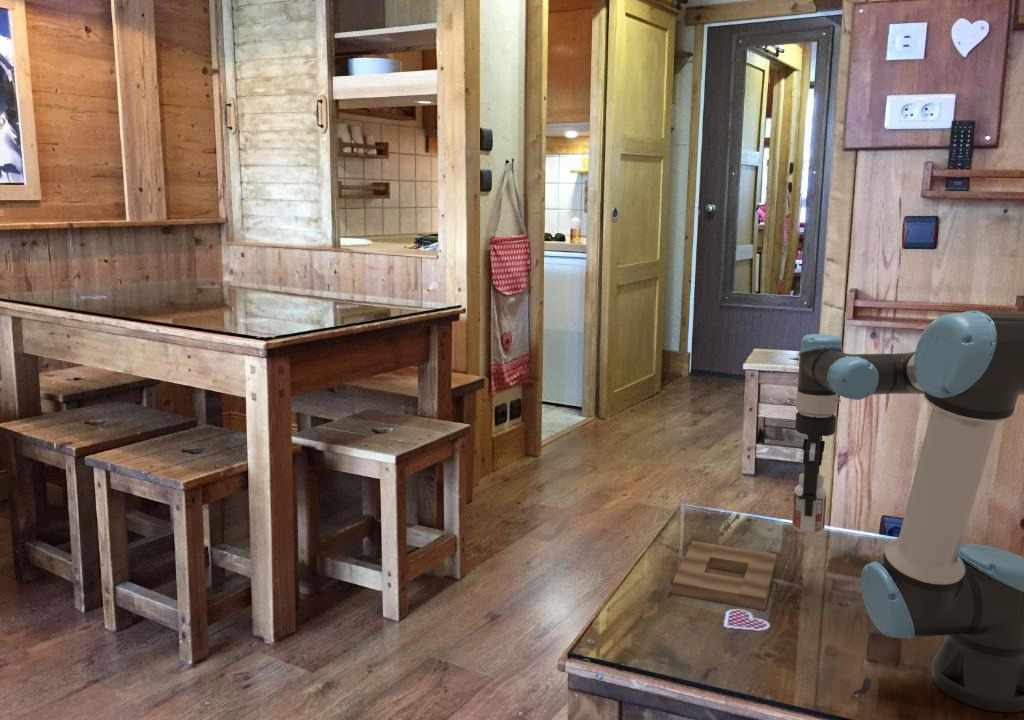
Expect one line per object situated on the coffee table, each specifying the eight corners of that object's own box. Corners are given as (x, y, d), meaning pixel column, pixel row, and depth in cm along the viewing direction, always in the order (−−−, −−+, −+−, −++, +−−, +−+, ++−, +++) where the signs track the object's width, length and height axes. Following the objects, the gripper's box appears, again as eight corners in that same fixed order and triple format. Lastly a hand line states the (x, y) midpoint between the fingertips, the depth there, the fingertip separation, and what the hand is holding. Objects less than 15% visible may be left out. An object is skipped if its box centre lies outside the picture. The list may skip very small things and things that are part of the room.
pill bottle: (803, 521, 181) (806, 469, 179) (830, 529, 176) (834, 476, 174) (785, 527, 177) (789, 475, 175) (812, 536, 172) (816, 483, 170)
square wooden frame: (764, 610, 169) (765, 598, 168) (672, 593, 175) (672, 582, 175) (775, 564, 189) (776, 554, 188) (692, 551, 195) (692, 541, 195)
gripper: (834, 426, 162) (826, 544, 166) (837, 404, 179) (829, 511, 184) (792, 422, 165) (784, 538, 169) (799, 401, 182) (792, 506, 186)
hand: (808, 524), depth 176 cm, fingers closed on pill bottle, 6 cm apart
